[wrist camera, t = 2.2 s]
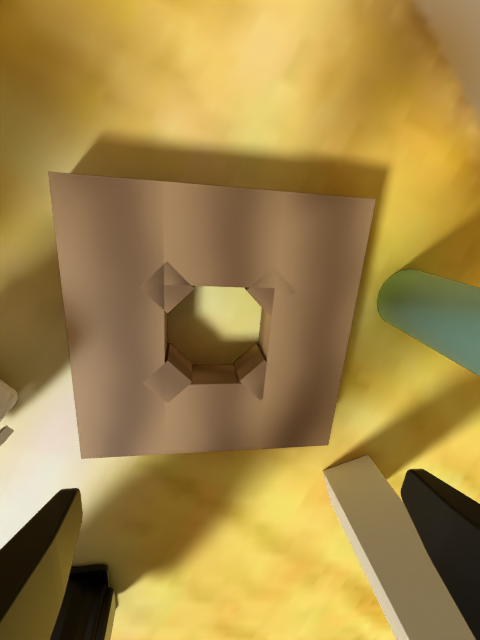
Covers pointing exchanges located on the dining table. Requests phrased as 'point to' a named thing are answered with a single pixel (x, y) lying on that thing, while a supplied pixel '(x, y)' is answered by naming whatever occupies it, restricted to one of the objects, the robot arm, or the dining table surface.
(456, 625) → the square dowel
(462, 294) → the round dowel
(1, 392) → the white blocky figure
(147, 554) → the dining table surface
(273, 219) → the socket board
